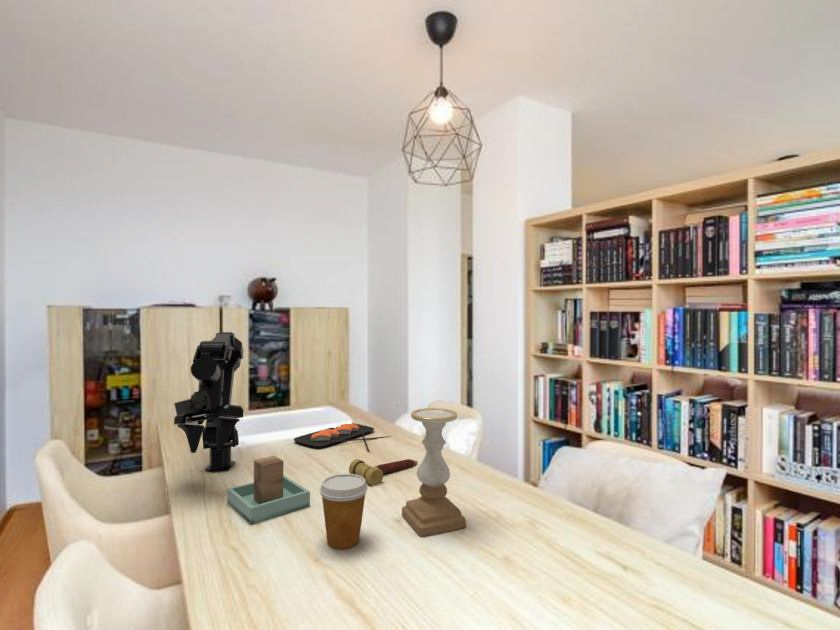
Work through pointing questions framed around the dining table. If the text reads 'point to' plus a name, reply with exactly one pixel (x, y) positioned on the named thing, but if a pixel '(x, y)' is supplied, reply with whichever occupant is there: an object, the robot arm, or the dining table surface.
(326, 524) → the disposable coffee cup
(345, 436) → the sushi plate
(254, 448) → the dining table surface
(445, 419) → the candle holder
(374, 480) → the gavel
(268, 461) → the walnut block
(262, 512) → the box
